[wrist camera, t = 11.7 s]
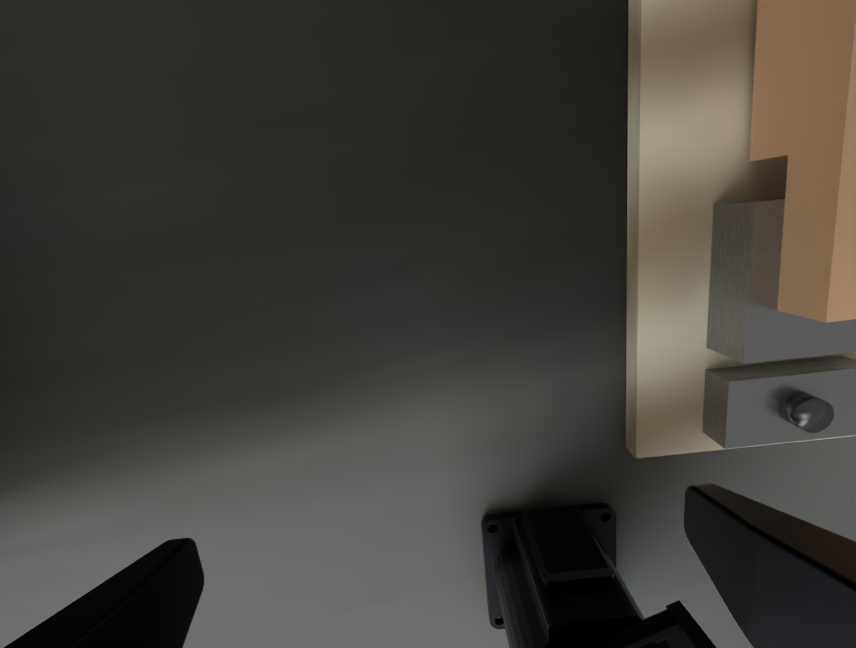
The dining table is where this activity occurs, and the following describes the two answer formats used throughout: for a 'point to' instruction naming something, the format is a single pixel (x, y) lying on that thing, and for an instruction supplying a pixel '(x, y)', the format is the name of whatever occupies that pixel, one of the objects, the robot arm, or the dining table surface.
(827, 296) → the master link
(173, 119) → the dining table surface
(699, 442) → the board
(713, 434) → the lower chain end
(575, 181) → the dining table surface
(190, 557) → the robot arm
